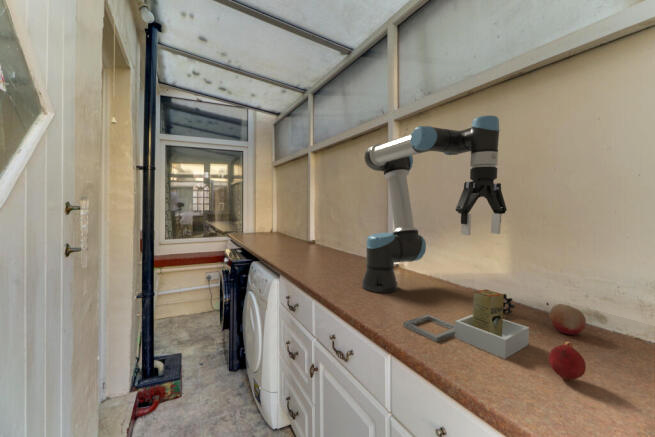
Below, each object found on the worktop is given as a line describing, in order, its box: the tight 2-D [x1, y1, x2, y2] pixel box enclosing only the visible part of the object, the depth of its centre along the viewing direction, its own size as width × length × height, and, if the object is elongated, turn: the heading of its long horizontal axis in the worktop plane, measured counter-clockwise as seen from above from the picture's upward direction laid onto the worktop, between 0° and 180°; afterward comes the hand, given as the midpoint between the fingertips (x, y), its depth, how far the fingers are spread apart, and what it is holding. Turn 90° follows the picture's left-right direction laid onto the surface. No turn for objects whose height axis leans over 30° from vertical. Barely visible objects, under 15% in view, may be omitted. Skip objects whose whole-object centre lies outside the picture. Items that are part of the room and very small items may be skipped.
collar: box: [402, 313, 455, 343], centre depth 82 cm, size 11×11×1 cm
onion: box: [548, 341, 587, 382], centre depth 58 cm, size 6×6×8 cm
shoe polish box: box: [472, 288, 505, 337], centre depth 75 cm, size 5×5×12 cm
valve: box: [502, 293, 516, 315], centre depth 92 cm, size 7×7×12 cm
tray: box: [454, 314, 530, 360], centre depth 75 cm, size 13×13×5 cm
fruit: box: [548, 303, 587, 336], centre depth 80 cm, size 8×8×8 cm
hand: (481, 234), depth 90 cm, fingers open, 13 cm apart
